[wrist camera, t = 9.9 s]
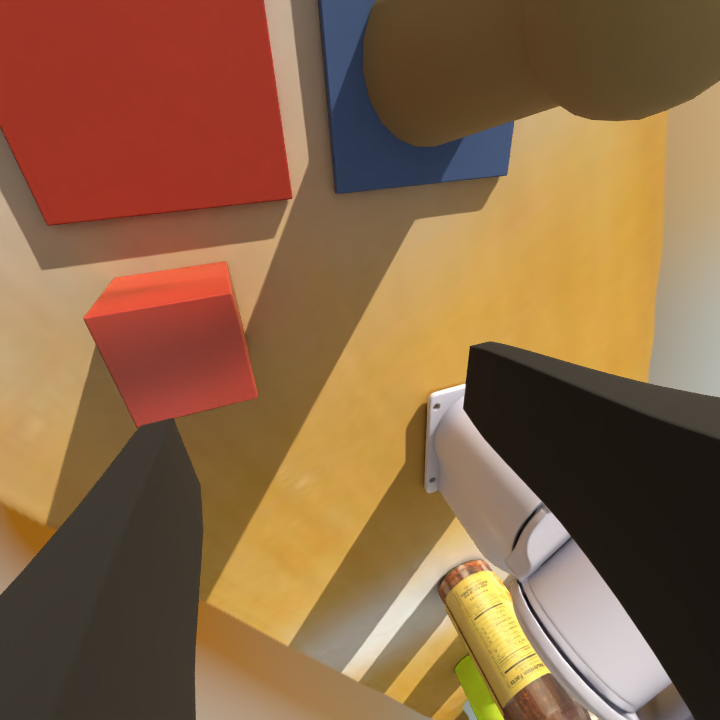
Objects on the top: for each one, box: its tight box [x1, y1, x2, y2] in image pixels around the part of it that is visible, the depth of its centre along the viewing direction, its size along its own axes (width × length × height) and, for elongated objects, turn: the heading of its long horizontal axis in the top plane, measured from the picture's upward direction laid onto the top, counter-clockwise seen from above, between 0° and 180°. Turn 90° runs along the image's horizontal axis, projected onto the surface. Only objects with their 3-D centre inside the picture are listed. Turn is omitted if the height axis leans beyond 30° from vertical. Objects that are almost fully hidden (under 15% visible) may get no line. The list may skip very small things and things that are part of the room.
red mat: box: [0, 0, 292, 226], centre depth 12 cm, size 9×9×1 cm
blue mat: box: [318, 0, 514, 194], centre depth 15 cm, size 9×9×1 cm
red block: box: [84, 262, 258, 427], centre depth 15 cm, size 4×4×4 cm
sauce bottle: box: [439, 560, 592, 720], centre depth 30 cm, size 7×6×20 cm
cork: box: [363, 0, 720, 147], centre depth 10 cm, size 6×6×11 cm
